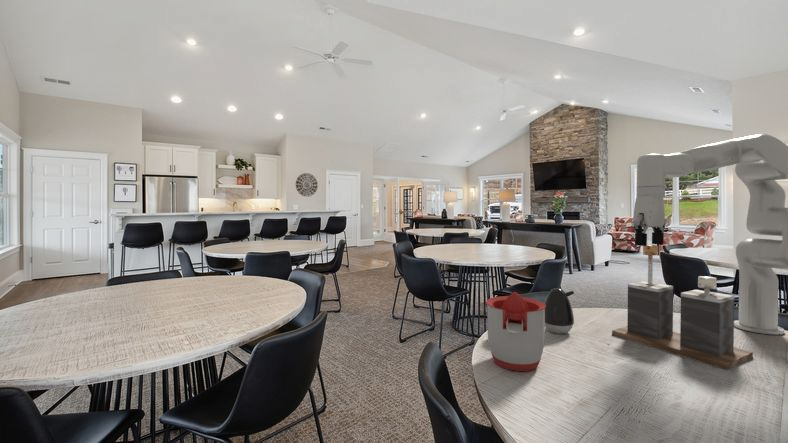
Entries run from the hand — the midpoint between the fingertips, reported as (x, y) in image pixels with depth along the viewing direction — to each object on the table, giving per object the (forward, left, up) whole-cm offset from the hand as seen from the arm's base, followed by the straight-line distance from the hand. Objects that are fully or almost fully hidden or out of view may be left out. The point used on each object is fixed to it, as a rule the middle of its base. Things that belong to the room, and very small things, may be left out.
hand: (649, 244), depth 115 cm
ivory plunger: (0, +15, -29) cm, 32 cm away
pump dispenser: (+21, -18, -31) cm, 41 cm away
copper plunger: (0, 0, -20) cm, 21 cm away
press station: (0, +8, -31) cm, 32 cm away
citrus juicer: (+54, -6, -31) cm, 62 cm away
